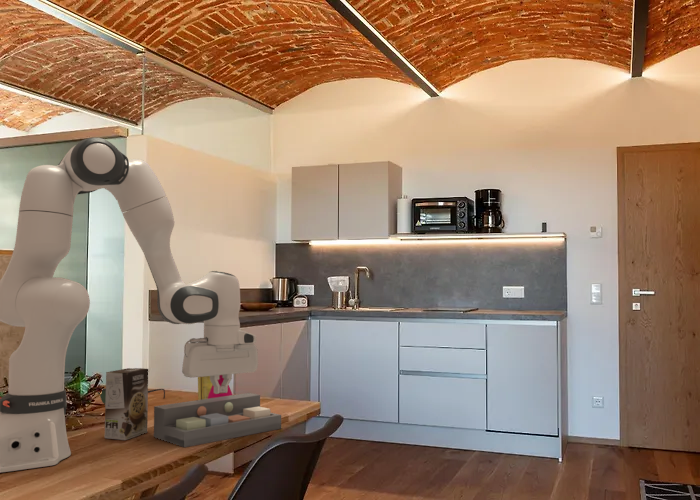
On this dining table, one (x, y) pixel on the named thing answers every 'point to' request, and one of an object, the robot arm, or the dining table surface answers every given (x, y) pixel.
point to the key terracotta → (237, 418)
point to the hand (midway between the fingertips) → (220, 393)
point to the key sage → (190, 423)
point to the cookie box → (126, 403)
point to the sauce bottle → (204, 387)
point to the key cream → (256, 412)
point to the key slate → (215, 419)
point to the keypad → (221, 405)
